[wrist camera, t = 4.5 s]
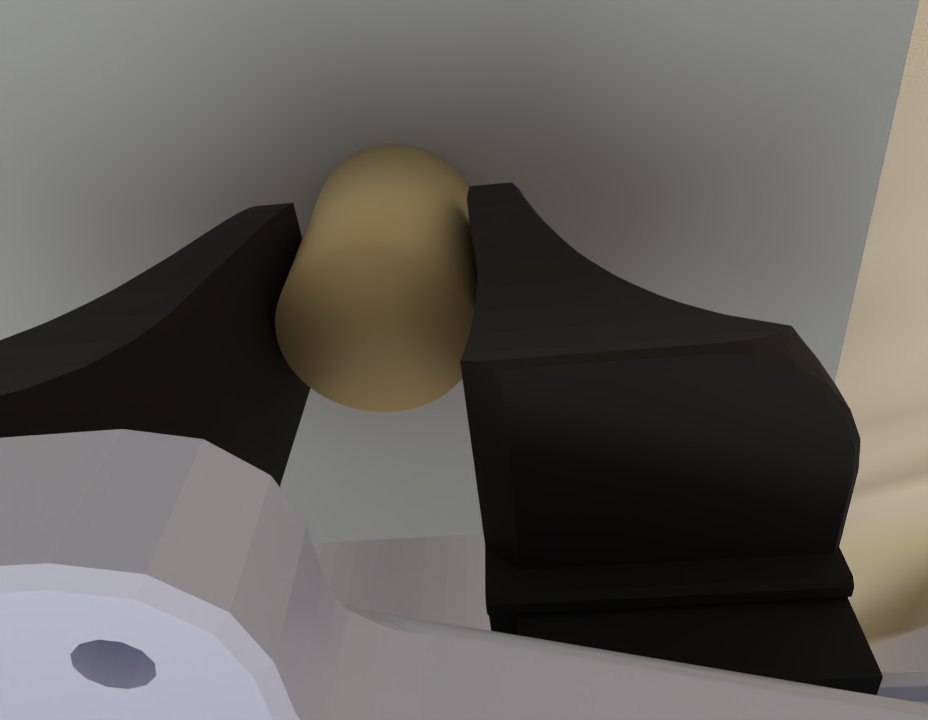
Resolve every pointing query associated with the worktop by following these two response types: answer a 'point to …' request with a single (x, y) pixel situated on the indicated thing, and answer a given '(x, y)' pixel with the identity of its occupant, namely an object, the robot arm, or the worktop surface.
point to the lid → (441, 183)
